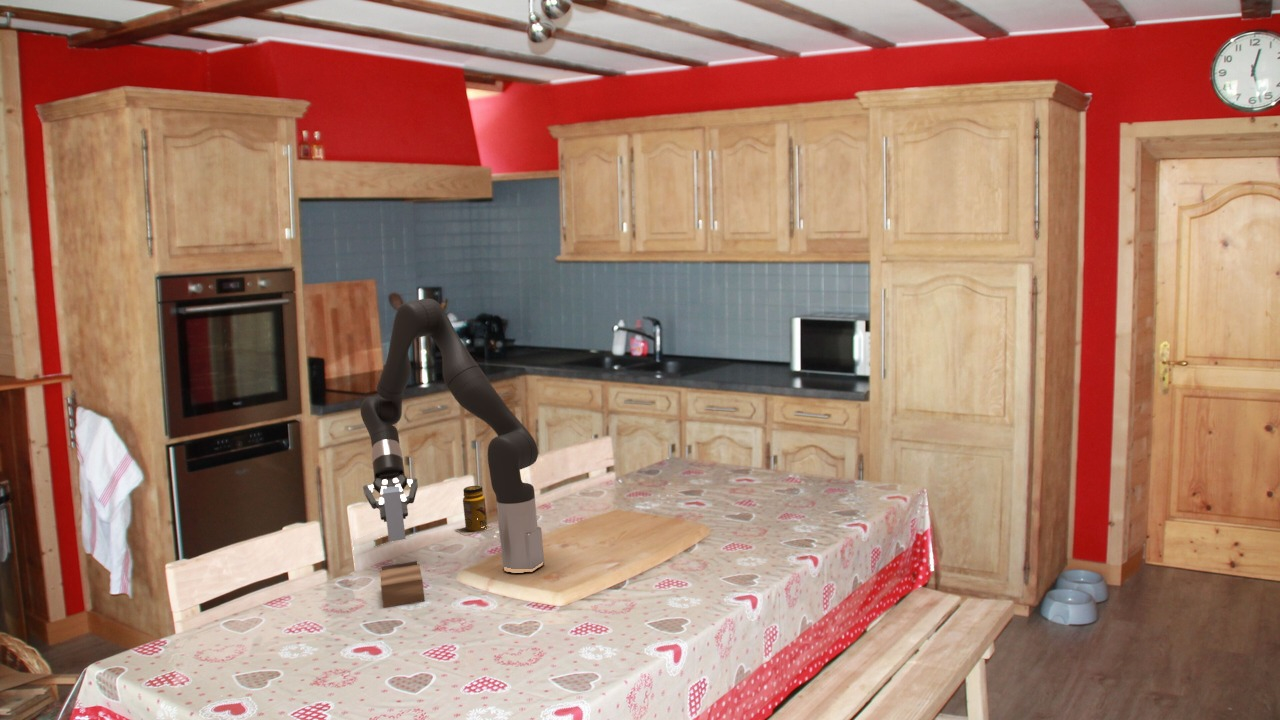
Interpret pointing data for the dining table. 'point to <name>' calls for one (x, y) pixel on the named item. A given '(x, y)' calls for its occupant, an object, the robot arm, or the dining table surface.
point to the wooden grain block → (401, 584)
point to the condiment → (474, 511)
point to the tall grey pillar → (394, 513)
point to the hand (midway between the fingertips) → (394, 518)
